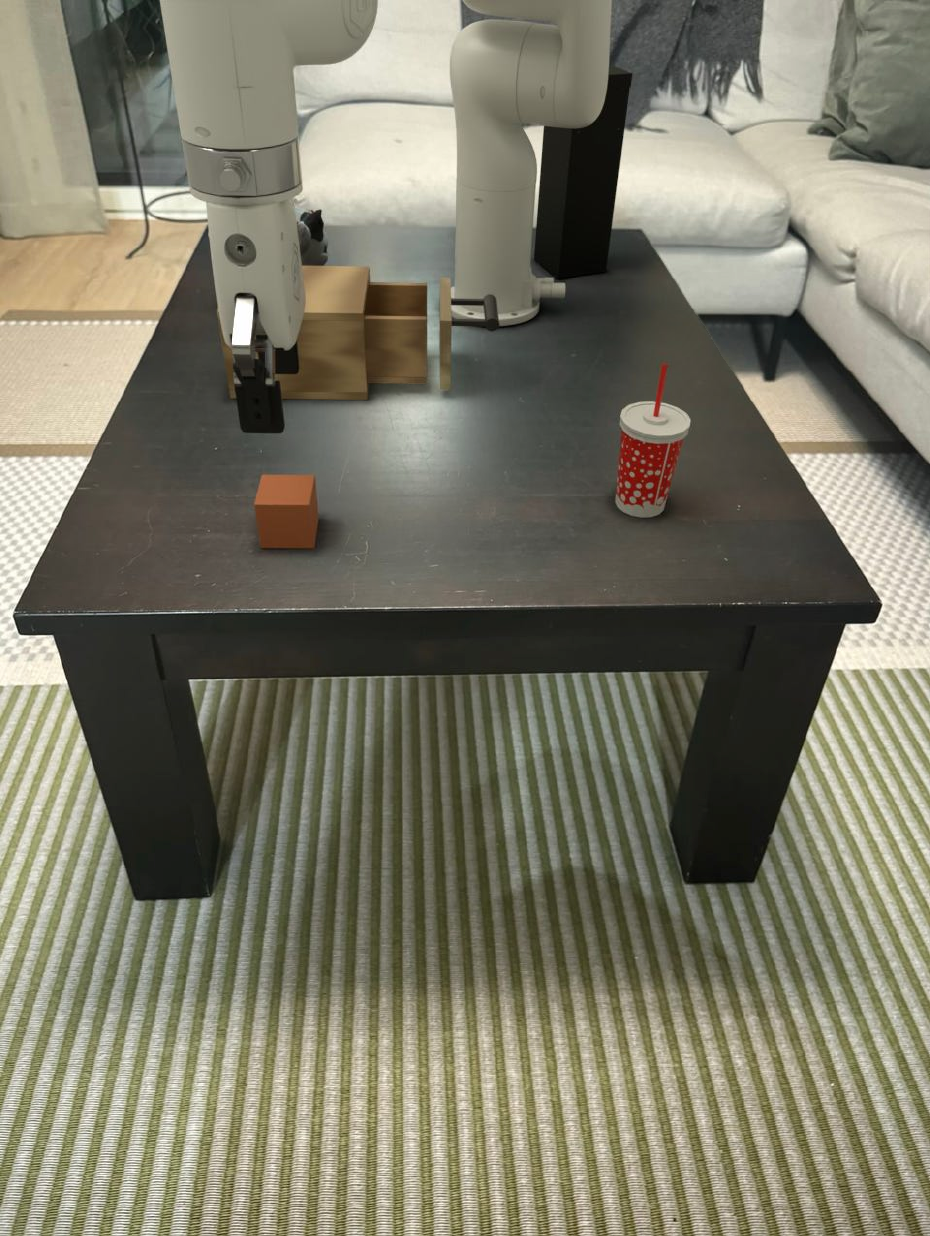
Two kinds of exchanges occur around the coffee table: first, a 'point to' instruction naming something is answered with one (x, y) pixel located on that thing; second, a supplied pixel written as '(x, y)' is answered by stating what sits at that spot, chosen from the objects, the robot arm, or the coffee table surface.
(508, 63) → the robot arm
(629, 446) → the beverage cup
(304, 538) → the block
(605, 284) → the coffee table surface
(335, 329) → the cabinet
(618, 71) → the tall black pillar
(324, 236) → the lucky cat figurine
